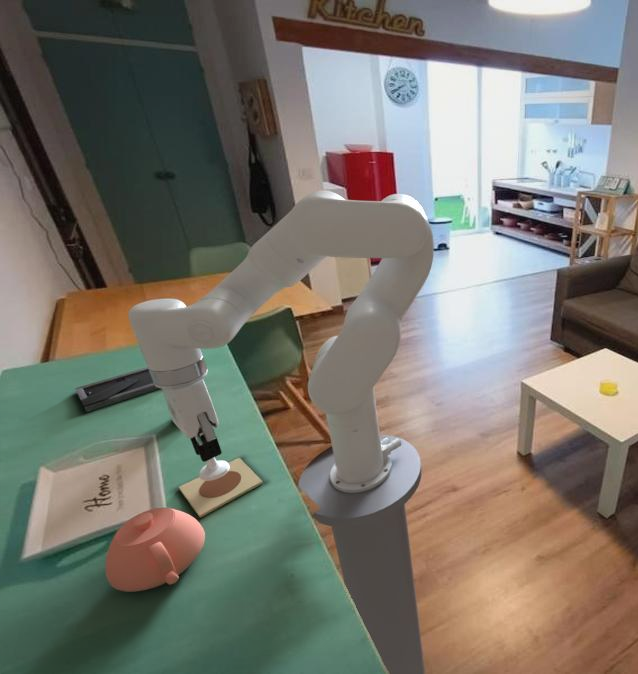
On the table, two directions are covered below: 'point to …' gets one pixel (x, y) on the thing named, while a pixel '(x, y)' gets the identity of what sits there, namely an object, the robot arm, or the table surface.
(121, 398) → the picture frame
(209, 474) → the chess piece
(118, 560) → the sugar bowl
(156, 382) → the robot arm
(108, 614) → the table surface
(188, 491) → the beige square coaster
